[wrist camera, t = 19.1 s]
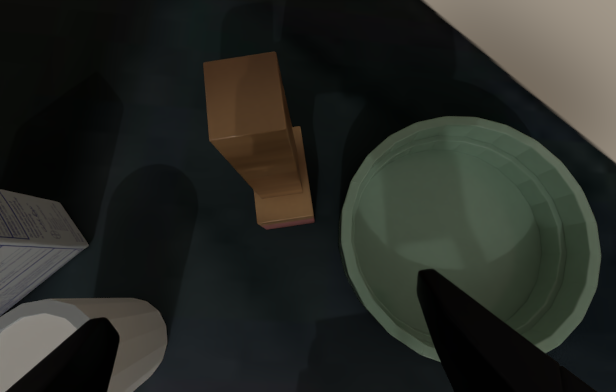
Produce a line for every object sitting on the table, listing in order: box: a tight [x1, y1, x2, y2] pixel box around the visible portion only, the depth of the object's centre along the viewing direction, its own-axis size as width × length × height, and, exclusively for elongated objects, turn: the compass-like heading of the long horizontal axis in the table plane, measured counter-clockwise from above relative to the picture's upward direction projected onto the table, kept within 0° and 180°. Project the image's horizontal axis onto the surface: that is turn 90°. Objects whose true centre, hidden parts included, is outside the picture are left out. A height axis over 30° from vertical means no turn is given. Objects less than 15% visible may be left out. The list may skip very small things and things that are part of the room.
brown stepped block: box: [203, 52, 315, 230], centre depth 17 cm, size 6×4×12 cm, turn 8°
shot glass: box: [0, 298, 167, 392], centre depth 17 cm, size 7×7×7 cm
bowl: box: [338, 116, 601, 362], centre depth 20 cm, size 14×14×4 cm
